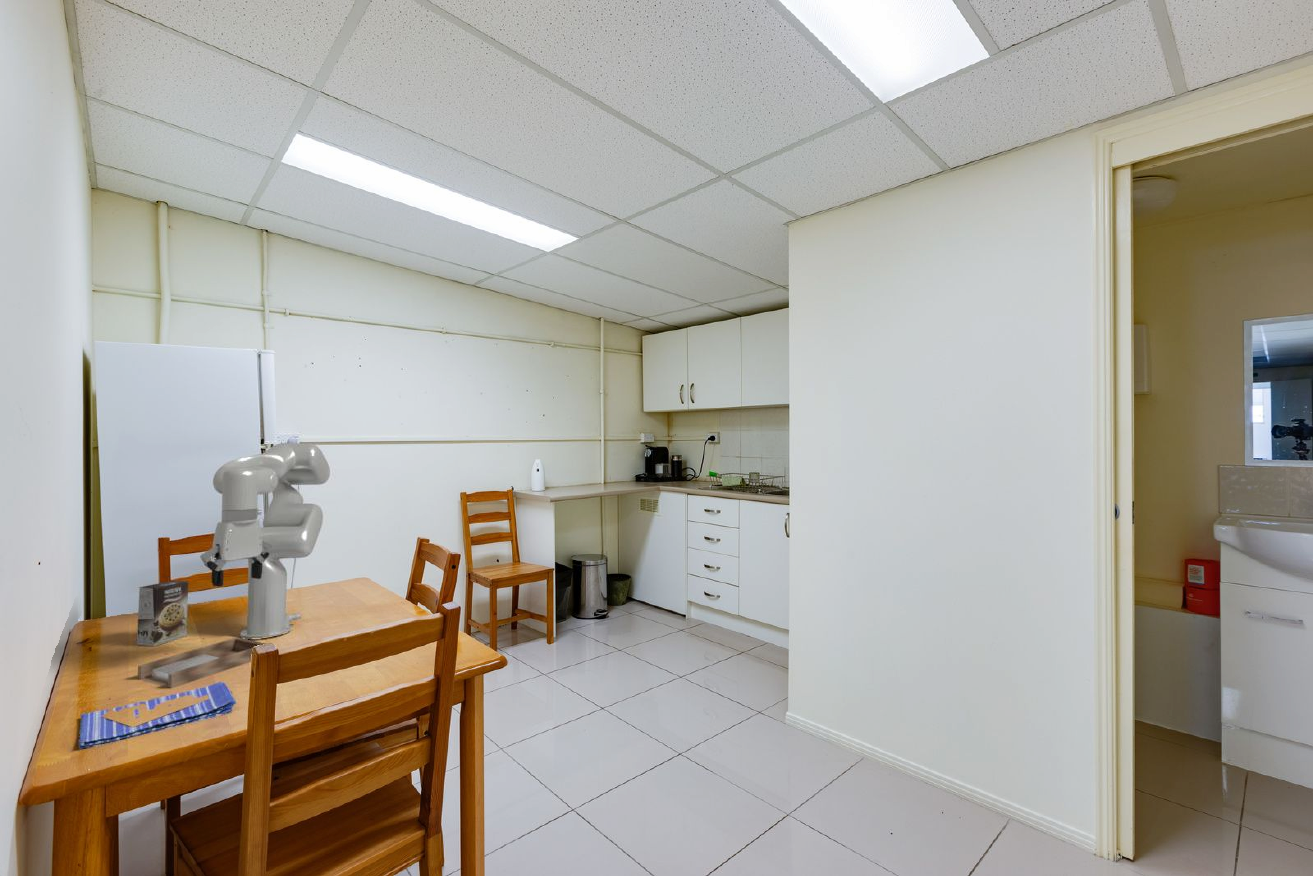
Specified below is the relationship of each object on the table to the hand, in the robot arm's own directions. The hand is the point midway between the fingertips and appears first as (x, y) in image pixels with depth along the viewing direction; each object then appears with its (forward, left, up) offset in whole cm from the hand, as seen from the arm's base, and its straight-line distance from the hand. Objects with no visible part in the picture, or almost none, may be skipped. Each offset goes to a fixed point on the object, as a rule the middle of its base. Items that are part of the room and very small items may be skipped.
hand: (237, 581), depth 148 cm
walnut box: (+7, 0, -20) cm, 21 cm away
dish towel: (+25, +17, -21) cm, 37 cm away
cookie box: (-1, -34, -21) cm, 40 cm away
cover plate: (+11, 0, -20) cm, 22 cm away
